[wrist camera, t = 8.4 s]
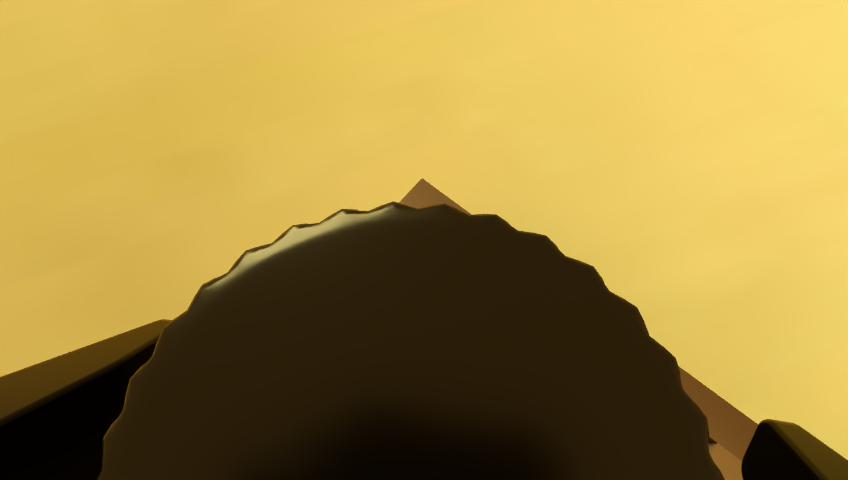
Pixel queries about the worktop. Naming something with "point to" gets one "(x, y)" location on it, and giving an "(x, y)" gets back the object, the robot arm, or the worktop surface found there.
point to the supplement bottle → (408, 365)
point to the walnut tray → (724, 420)
